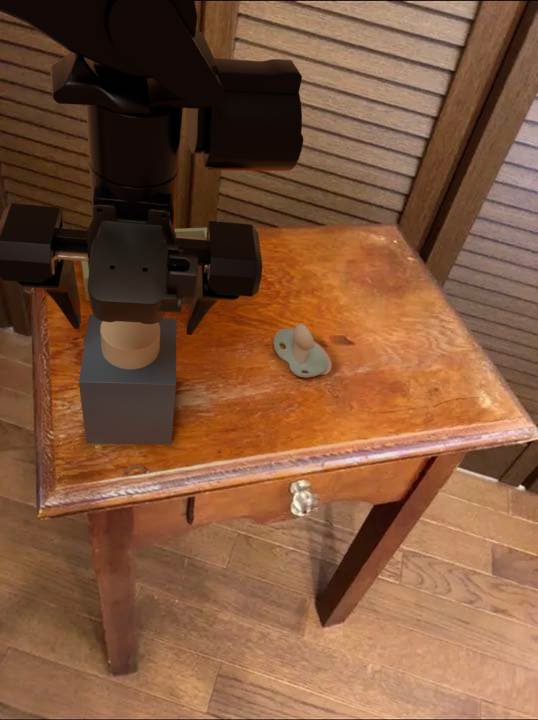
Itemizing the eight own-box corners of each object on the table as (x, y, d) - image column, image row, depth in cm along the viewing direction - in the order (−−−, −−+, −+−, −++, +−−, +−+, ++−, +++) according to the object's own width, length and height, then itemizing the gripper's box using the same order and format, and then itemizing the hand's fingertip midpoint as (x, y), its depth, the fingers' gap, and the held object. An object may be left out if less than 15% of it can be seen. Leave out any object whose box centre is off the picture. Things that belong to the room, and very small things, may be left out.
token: (99, 368, 50) (97, 349, 48) (104, 326, 53) (103, 306, 51) (158, 370, 51) (159, 351, 49) (160, 329, 54) (161, 309, 52)
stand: (86, 447, 56) (78, 381, 49) (94, 382, 61) (88, 313, 54) (171, 448, 58) (176, 384, 50) (172, 384, 63) (176, 318, 55)
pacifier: (304, 333, 71) (264, 348, 68) (316, 294, 67) (275, 309, 64) (341, 374, 68) (301, 392, 65) (357, 336, 64) (315, 354, 60)
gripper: (-53, 225, 31) (-3, 401, 43) (287, 252, 35) (249, 408, 46) (-8, 122, 39) (24, 296, 50) (270, 154, 42) (240, 309, 54)
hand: (134, 328), depth 50 cm, fingers open, 9 cm apart
